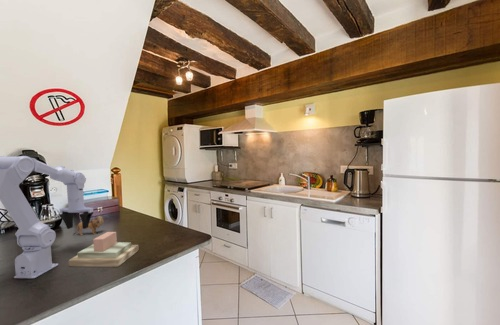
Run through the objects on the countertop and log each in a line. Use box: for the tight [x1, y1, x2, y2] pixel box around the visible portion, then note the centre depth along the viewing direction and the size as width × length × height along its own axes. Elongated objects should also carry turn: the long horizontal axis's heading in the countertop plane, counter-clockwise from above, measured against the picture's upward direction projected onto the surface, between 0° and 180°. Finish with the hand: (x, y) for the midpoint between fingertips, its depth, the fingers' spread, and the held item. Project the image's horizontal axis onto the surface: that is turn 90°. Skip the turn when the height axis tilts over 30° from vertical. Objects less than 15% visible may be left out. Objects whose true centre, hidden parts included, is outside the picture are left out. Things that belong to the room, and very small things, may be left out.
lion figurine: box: [72, 216, 104, 236], centre depth 120 cm, size 15×5×9 cm, turn 108°
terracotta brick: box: [92, 231, 118, 252], centre depth 92 cm, size 8×4×5 cm, turn 176°
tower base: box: [68, 241, 140, 268], centre depth 92 cm, size 14×20×4 cm
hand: (77, 228), depth 100 cm, fingers open, 7 cm apart
